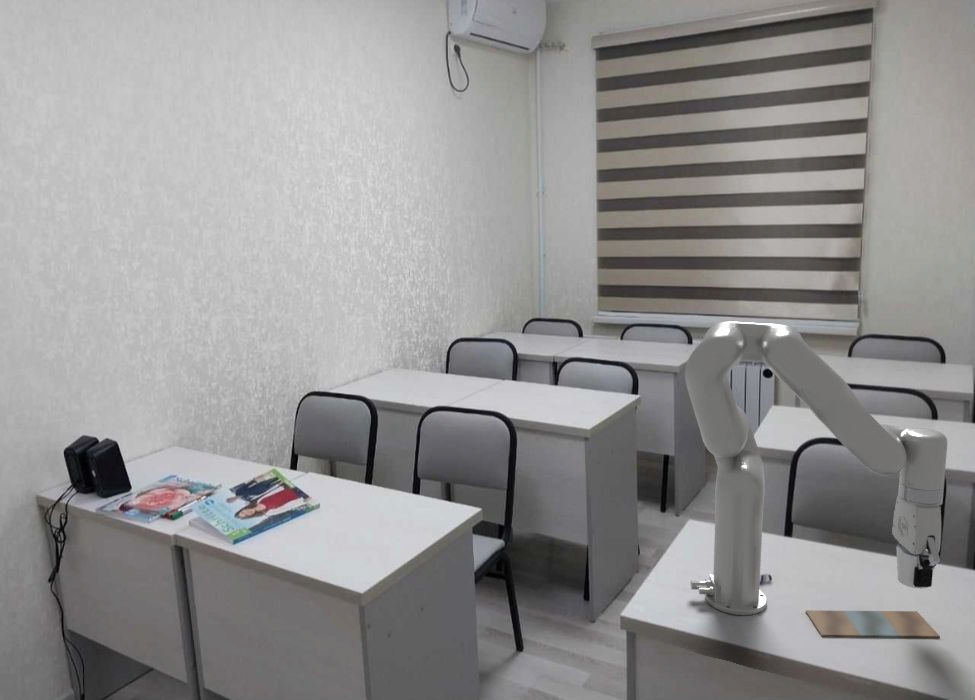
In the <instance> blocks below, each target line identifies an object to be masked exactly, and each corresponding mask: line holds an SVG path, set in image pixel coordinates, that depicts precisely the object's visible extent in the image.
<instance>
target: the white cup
mask: <svg viewBox="0 0 975 700" xmlns="http://www.w3.org/2000/svg"><path fill="white" fill-rule="evenodd" d="M898 543H899V542H898ZM895 549H896V564H897V565H896V566H897V567H896V568H897V580H898V582H899V583H900V584H902V585H904V586H906V587H909V588H912V589H913V588H914V589H919V590H920V589H927V588H928V587H915V586H914V585H913V581H914V568H915V567H917V561H916V560H917V556H916V555H913V554H912V553H910V552H909V551H908V550H907V549H906V548H905V547H904V546H903V545H902V544H901V543H899V544H896V548H895ZM923 552H928V550H927V549H924V550H923ZM928 558H929V556H922V562H923V561H924V560H925V559H928Z"/></svg>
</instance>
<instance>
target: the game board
mask: <svg viewBox="0 0 975 700" xmlns="http://www.w3.org/2000/svg"><path fill="white" fill-rule="evenodd" d="M805 614H806V615H807V616H808V618H809V620H810V621H811V623H812V624H813V626H814V627H815V629H816V630H817V632H818V634H819V635H820V636H821V637H822V638H831V637H832V638H909V639H910V638H913V639H915V638H916V639H918V638H919V639H922V638H924V639H928V638H929V639H940V638H941V637H940V634H938V632H937V631H936V630H935V629H934V628H933V627H932V626H931V625H930V623H928V621H926V619H925V618H924V617H923V616H922V615H921V613H919V612H918V611H916V610H913V611H912V610H911V611H910V610H909V611H908V610H907V611H906V610H905V611H904V610H902V611H901V610H899V611H898V610H813V609H812V610H805Z"/></svg>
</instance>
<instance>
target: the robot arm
mask: <svg viewBox="0 0 975 700" xmlns="http://www.w3.org/2000/svg"><path fill="white" fill-rule="evenodd" d="M740 362H750V363H751V362H753V363H763V364H764V365H765V366H766V367H767V368H768V370H770V371H771V373H773V374H774V375H775V376H776V377H777V378H778V379H779V380H780V381H781V382H782V384H784V385H785V386H786V387H787V388H788V389H789V390H790V391H791V392H792V393H793V394H794V395H795V396H796V397H797V398H798V399H799V400H800V401H801V402H802V403H804V405H805V406H806V407H807V408H808V409H809V410H810V411H811V412H812V413H813V414H814V416H815V417H816V419H818V420H819V422H821V423H822V424H823V425H824V427H826V428H827V429H828V430H829V431H830V432H831V434H833V436H834V437H835V438H836V439H837V440H838V441H839V442H840V443H841V445H842V446H843V447H845V448H846V450H848V451H849V453H851V454H852V455H853V456H854V458H856V459H857V460H858V461H859V462H860V463H861V464H862V465H863V466H864V467H865V468H866V469H868V470H869V471H870V472H872V473H874V474H876V475H878V476H885V477H887V476H892V475H893V476H894V475H895V474H897V473H899V483H898V493H897V497H896V501H895V506H894V512H893V519H892V527H891V529H892V530H891V534H892V536H893V537H894V539H895V540H896V541H897V542H898V544H899V543H901V544H902V545H903V546H904V547H905V548H906V549H907V550H908V551H909V552H910V553H912V554H913V555H916V556H917V560H916V561H917V567H915V568H914V581H913V585H914V586H915V587H927V588H931V587H932V585H933V574H934V573H933V572H934V570H935V568H936V566H937V565H938V564H939V563H940V562H941V559H940V555H939V553H940V549H941V541H942V513H941V512H942V511H941V508H942V507H941V506H942V505H943V501H944V500H943V499H944V488H945V479H946V477H945V475H946V464H947V451H948V438H947V437H946V435H945V434H944V433H942V432H940V431H937V430H935V429H929V428H920V427H919V428H918V427H917V428H906V427H902V426H901V427H900V426H895V425H890V424H884V423H879V422H878V421H877V419H875V418H874V417H873V415H871V413H870V412H869V411H868V409H867V408H866V407H865V406H863V404H862V403H861V401H859V398H858V397H857V396H856V394H855V393H854V391H853V390H852V388H851V387H850V386H849V384H848V383H847V382H846V381H845V379H843V377H842V376H841V375H839V374H838V373H837V372H836V371H835V370H834V369H833V368H832V367H831V366H830V365H829V364H828V363H827V362H826V361H825V360H824V359H822V357H820V355H819V354H817V352H816V351H814V350H813V348H811V346H809V345H808V343H806V341H804V339H803V337H802V335H801V333H800V332H799V331H798V330H797V329H795V328H794V327H792V326H791V325H785V324H779V323H777V324H776V323H762V322H761V323H760V322H759V323H758V322H745V321H744V322H743V321H722V322H721V321H720V322H718V323H715V324H714V325H711V326H710V327H709V328H708V329H707V331H706V332H705V334H704V336H703V339H702V340H701V341H700V342H699V343H698V345H696V347H695V348H694V349H693V351H692V352H691V353H690V355H689V357H688V359H687V362H686V366H685V368H684V380H685V386H686V390H687V392H688V396H689V399H690V402H691V407H692V409H693V413H694V416H695V419H696V422H697V425H698V428H699V431H700V435H701V440H702V442H703V444H704V446H705V448H706V449H707V451H709V452H710V454H712V455H713V456H714V460H715V462H716V466H717V472H716V479H715V490H714V491H715V492H714V493H715V495H714V503H715V506H714V509H715V510H714V545H713V572H712V573H713V574H709V579H708V578H706V579H704V580H699V579H698V580H697V579H695V580H693V579H692V580H690V590H698V594H699V595H705V599H706V601H707V603H708V604H709V605H710V606H712V607H713V608H715V609H716V610H718V611H721V612H723V613H727V614H731V615H737V616H751V615H752V616H753V615H755V614H758V613H761V612H762V611H764V610H765V609H766V607H767V601H768V599H767V597H766V594H765V593H764V592H762V590H761V589H760V583H761V565H762V564H761V561H762V542H763V541H762V539H763V538H762V537H763V522H764V521H763V518H764V516H763V515H764V504H765V494H766V491H765V490H766V488H765V487H766V486H765V484H766V482H765V471H764V470H765V467H764V463H763V462H764V461H763V460H762V457H761V456H762V455H761V453H760V450H759V448H758V445H757V441H756V439H755V435H754V433H753V429H752V426H751V423H750V420H749V418H748V416H747V414H746V412H745V411H744V409H742V408H741V407H740V406H739V405H737V402H736V401H735V398H734V393H733V391H732V388H731V385H730V383H729V375H730V373H731V371H732V370H733V369H734V368H735V367H737V365H738V364H740ZM924 549H927V550H928V552H923V550H924ZM922 556H929V558H928V559H925V560H924V561H923V562H922Z"/></svg>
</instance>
